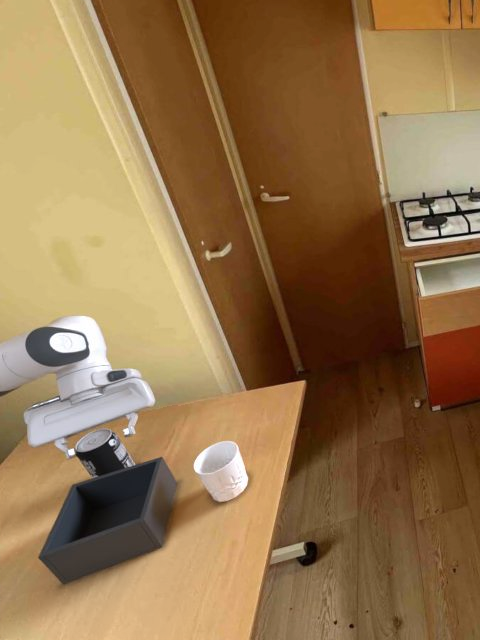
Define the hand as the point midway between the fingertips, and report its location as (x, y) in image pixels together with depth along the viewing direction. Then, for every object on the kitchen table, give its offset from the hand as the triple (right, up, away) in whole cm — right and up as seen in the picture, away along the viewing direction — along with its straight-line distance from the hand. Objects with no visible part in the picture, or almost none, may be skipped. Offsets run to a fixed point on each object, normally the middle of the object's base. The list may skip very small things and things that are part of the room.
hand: (102, 446), depth 91 cm
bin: (+12, -13, -7) cm, 19 cm away
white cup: (+28, -9, +1) cm, 29 cm away
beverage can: (+1, -8, +3) cm, 9 cm away
